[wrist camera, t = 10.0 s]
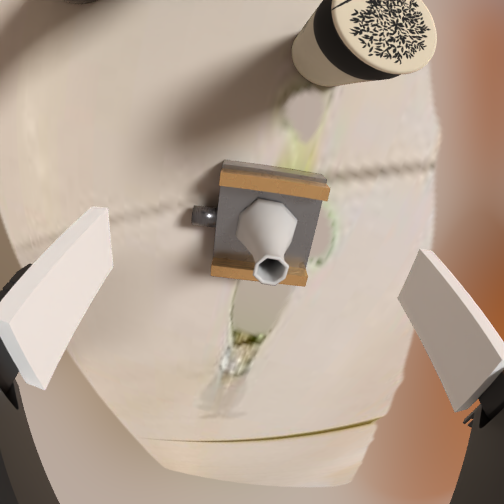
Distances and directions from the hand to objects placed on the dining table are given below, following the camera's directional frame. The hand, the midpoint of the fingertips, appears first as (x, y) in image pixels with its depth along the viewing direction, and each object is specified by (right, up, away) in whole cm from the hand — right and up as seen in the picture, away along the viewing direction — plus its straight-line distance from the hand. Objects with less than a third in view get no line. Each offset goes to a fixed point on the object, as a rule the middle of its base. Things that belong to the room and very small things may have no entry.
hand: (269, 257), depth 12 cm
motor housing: (0, +5, +26) cm, 27 cm away
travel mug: (+8, +23, +17) cm, 29 cm away
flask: (+1, +3, +25) cm, 25 cm away
